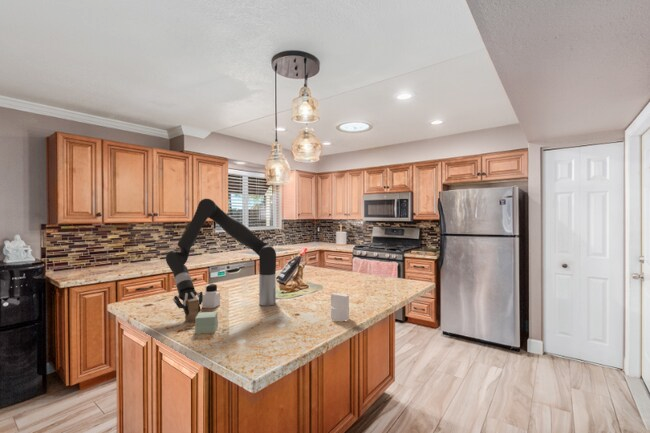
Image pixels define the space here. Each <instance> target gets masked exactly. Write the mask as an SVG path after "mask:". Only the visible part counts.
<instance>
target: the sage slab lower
mask: <svg viewBox="0 0 650 433" xmlns="http://www.w3.org/2000/svg"><path fill="white" fill-rule="evenodd" d="M218 327H219V319H218V318H217V321H216V324H215V325H209V326H194V334H214V333H216V330H218V329H217V328H218Z"/></svg>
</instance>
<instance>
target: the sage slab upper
mask: <svg viewBox="0 0 650 433" xmlns="http://www.w3.org/2000/svg"><path fill="white" fill-rule="evenodd" d="M217 319H218V311H206V312H205V311H204V312H199V313H198V315H197V316H196V318H195V326H209V325H215V324H216V321H217ZM195 326H194V327H195Z"/></svg>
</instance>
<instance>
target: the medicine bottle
mask: <svg viewBox="0 0 650 433" xmlns="http://www.w3.org/2000/svg"><path fill="white" fill-rule="evenodd" d="M220 304H221V292H220V291H218V285H217V284H214V283H210V284H206V285H205V293H203V299H202V303H201V307H202V308H203V309H216V308H217V307H218V306H220ZM202 308H201V309H202Z"/></svg>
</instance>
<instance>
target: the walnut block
mask: <svg viewBox="0 0 650 433" xmlns="http://www.w3.org/2000/svg"><path fill="white" fill-rule="evenodd" d="M196 298H197V297H196ZM196 298H195V299H194V298H193V299H187V300H186V304H187V305H186V306H187V307H188V310H189V314H188V315H186V314H185V313H184V314H185V321H186V322H187V323H189V324H190V323H194V322H195V318H196V316H197V315H198V301H199V298H197V299H196Z"/></svg>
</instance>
